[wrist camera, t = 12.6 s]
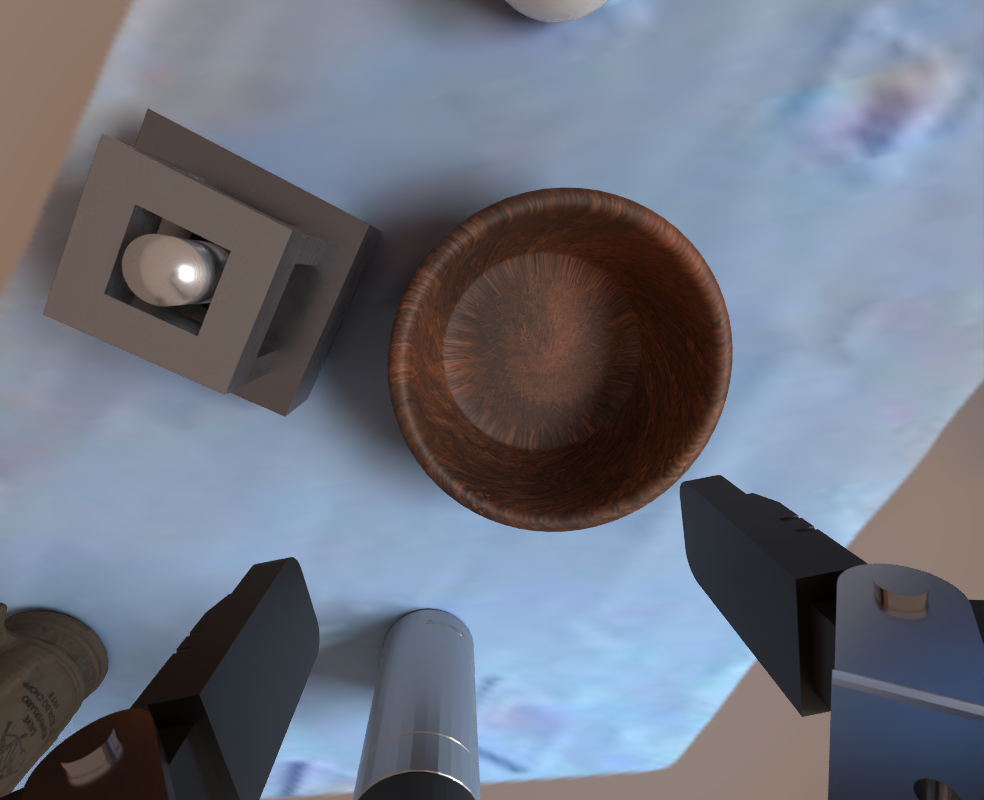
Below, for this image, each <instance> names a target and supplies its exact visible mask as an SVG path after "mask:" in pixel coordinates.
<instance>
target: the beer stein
mask: <svg viewBox="0 0 984 800" xmlns="http://www.w3.org/2000/svg"><path fill="white" fill-rule="evenodd" d="M6 611H7V606H6V605H5V604H3V603H0V797H3V796H5V795H7V794H10V793H11V792H12V791H13V790H14V788H15V787H16V785H17V784H18V783H19V782H20V781H21V779H22V778H23V777H24V776H25V775H26V773H27V772H28V771H29V770H30V769H31V768H32V766H33V765H34V764H35V763H36V762H37V760H38V759H39V758H40V757H41V756H42V755H43V754H44V753H45V752H46V751H47V750H48V749H49V748H50V747H51V745H52V744H53V743H54V742H55V740H56V739H57V738H58V736H59V734H60V733H61V732H62V730H63V729H64V728H65V727H66V726H67V724H68V723H69V721H70V720H71V718H72V717H73V715H74V714H75V713H76V712H77V711H78V709H79V708H80V706H81V704H82V702H83V700H84V699H86V698H87V697H88V696H89V695H90V694H91V693H92V692H93V691H95V690H96V689H97V688H98V687H99V685H100V684H101V682H102V681H103V679H104V677H105V675H106V673H107V670H108V658H107V652H106V649H105V648H104V646H103V644H102V642H101V640H100V638H99V637H98V636H97V635H96V634H95V633H94V631H92V630H91V629H90V628H88V627H87V626H86V625H84V624H83V623H82V622H80V621H78V620H76V619H74V618H71V617H69V616H66V615H63V614H59V613H54V612H49V611H34V612H26V613H19V614H16V615H13V616H10V617H8V618H7V619H5V616H6Z"/></svg>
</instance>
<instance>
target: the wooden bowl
mask: <svg viewBox="0 0 984 800" xmlns="http://www.w3.org/2000/svg"><path fill="white" fill-rule="evenodd" d="M732 349H733V348H732V334H731V327H730V321H729V315H728V312H727V308H726V305H725V301H724V298H723V295H722V293H721V290H720V288H719V285H718V283H717V281H716V279H715V277H714V275H713V273H712V271H711V269H710V268H709V266H708V265H707V263H706V261H705V260H704V258H703V257H702V255H701V254H700V253H699V252H698V250H697V249H696V248H695V247H694V245H693V244H692V243H691V242H690V241H689V240H688V239H687V238H686V237H685V236H684V235H683V234H682V233H681V232H680V231H679V230H678V229H677V228H676V227H675V226H673V225H672V224H671V223H669V222H668V221H667V220H666V219H664V218H663V217H661V216H660V215H658V214H657V213H655V212H653V211H652V210H650V209H648V208H646V207H644V206H642V205H640V204H638V203H636V202H634V201H632V200H629V199H626V198H623V197H620V196H618V195H615V194H611V193H606V192H602V191H598V190H591V189H583V188H551V189H541V190H536V191H531V192H526V193H522V194H519V195H516V196H512V197H509V198H506V199H504V200H501V201H499V202H497V203H494V204H492V205H490V206H488V207H486V208H484V209H482V210H481V211H479V212H477V213H475V214H473V215H472V216H470V217H469V218H468V219H466V220H465V221H463V222H462V223H460V224H459V225H458V226H456V227H455V228H454V229H453V230H452V231H451V232H449V233H448V234H447V235H446V236H445V237H444V238H443V239H442V240H441V241H440V242H439V243H438V244H437V245H436V246H435V247H434V248H433V249H432V250H431V252H430V253H429V254H428V255H427V257H426V258H425V259H424V261H423V262H422V263H421V264H420V266H419V268H418V269H417V271H416V272H415V274H414V275H413V277H412V279H411V280H410V282H409V284H408V286H407V288H406V290H405V292H404V294H403V297H402V299H401V302H400V304H399V307H398V310H397V312H396V316H395V320H394V323H393V327H392V331H391V337H390V344H389V354H388V381H389V389H390V396H391V401H392V405H393V409H394V413H395V416H396V419H397V422H398V425H399V428H400V430H401V432H402V435H403V437H404V439H405V441H406V443H407V445H408V447H409V449H410V450H411V452H412V453H413V455H414V457H415V458H416V460H417V461H418V463H419V464H420V465H421V467H422V468H423V470H424V471H425V472H426V473H427V475H428V476H429V477H430V478H431V479H432V480H433V481H434V482H435V483H436V484H437V485H438V486H439V487H440V488H441V489H442V490H443V491H444V492H445V493H447V494H448V495H449V496H450V497H452V498H453V499H454V500H456V501H457V502H458V503H460V504H461V505H463V506H464V507H466V508H468V509H470V510H471V511H473V512H475V513H477V514H479V515H481V516H483V517H485V518H487V519H490V520H492V521H495V522H498V523H501V524H504V525H507V526H511V527H515V528H519V529H526V530H532V531H544V532H563V531H573V530H581V529H586V528H591V527H596V526H599V525H602V524H606V523H609V522H612V521H614V520H617V519H619V518H622V517H624V516H627V515H629V514H631V513H633V512H635V511H637V510H639V509H640V508H642V507H644V506H645V505H647V504H648V503H650V502H652V501H653V500H655V499H656V498H657V497H659V496H660V495H661V494H663V493H664V492H665V491H666V490H668V489H669V488H670V487H671V486H672V485H673V484H674V483H675V482H677V481H678V480H679V479H680V478H681V476H682V475H683V474H684V473H685V472H686V471H687V470H688V469H689V468H690V467H691V465H692V464H693V463H694V461H695V460H696V459H697V458H698V456H699V455H700V453H701V452H702V450H703V449H704V447H705V446H706V444H707V443H708V441H709V439H710V437H711V435H712V433H713V431H714V430H715V428H716V425H717V423H718V420H719V418H720V416H721V413H722V410H723V407H724V404H725V401H726V398H727V393H728V389H729V384H730V378H731V370H732Z"/></svg>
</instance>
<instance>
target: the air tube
mask: <svg viewBox="0 0 984 800" xmlns="http://www.w3.org/2000/svg"><path fill="white" fill-rule="evenodd" d="M230 252H231V251H230V250H228V249H226V248H223V247H221V246H219V245H217V244H215V243H213V242H211V241H207V240H191V239H185V238H179V237H173V236H167V235H160V234H147V235H143V236H140V237H138V238H136V239H135V240H133V241H132V242H131V243H130V244H129V245H128V247H127V248H126V250H125V252H124V255H123V258H122V271H123V275H124V278H125V281H126V283H127V284H128V286H129V288H130V289H131V290H132V291H133V292H134V294H136V295H137V296H138V297H139V298H140V299H142V300H144V301H145V302H147V303H150V304H153V305H156V306H176V305H188V304H201V303H204V304H210V303H211V301H212V298H213V296H214V293H215V291H216V288H217V285H218V283H219V280H220V278H221V275H222V273H223V270H224V268H225V265H226V262H227V260H228V257H229V255H230Z"/></svg>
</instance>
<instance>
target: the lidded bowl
mask: <svg viewBox="0 0 984 800" xmlns="http://www.w3.org/2000/svg"><path fill="white" fill-rule="evenodd" d="M505 1H506V2H507V3H508V4H510V5H511V6H512V7H513V8H514V9H515V10H517V11H519V12H520V13H522V14H523V15H525V16H527V17H530V18H532V19H535V20H538V21H543V22H551V23H560V22H567V21H572V20H575V19H578V18H581V17H584V16H586V15H588V14H590V13H592V12H593V11H595V10H597V9H598V8H599V7H600V6H602V5H603V4H604V3H606V2H607V1H608V0H505Z"/></svg>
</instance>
